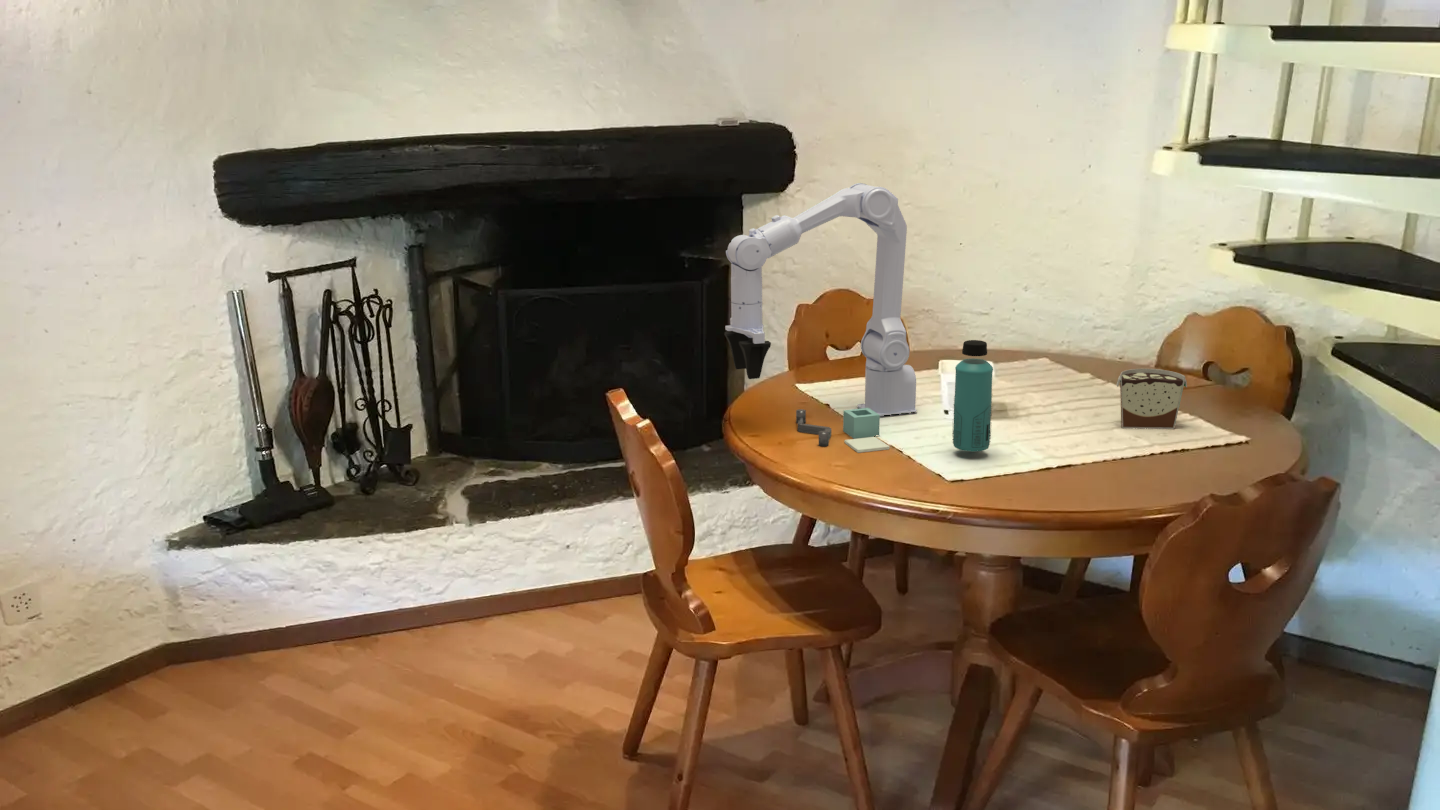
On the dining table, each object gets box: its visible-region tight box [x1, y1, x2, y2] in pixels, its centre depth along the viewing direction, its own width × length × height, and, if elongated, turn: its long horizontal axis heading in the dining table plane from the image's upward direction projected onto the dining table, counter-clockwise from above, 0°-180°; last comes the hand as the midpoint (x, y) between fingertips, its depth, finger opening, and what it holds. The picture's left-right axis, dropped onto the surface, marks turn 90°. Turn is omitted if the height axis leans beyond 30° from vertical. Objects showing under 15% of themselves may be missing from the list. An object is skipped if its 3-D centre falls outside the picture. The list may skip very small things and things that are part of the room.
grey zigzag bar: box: [795, 408, 832, 448], centre depth 205 cm, size 5×16×2 cm, turn 17°
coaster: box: [843, 436, 890, 454], centre depth 197 cm, size 6×6×1 cm
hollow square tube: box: [842, 408, 881, 439], centre depth 204 cm, size 5×5×4 cm
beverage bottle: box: [951, 339, 994, 452], centre depth 190 cm, size 6×7×20 cm
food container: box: [1116, 368, 1188, 430], centre depth 206 cm, size 12×6×10 cm, turn 84°
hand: (747, 373), depth 208 cm, fingers open, 7 cm apart
